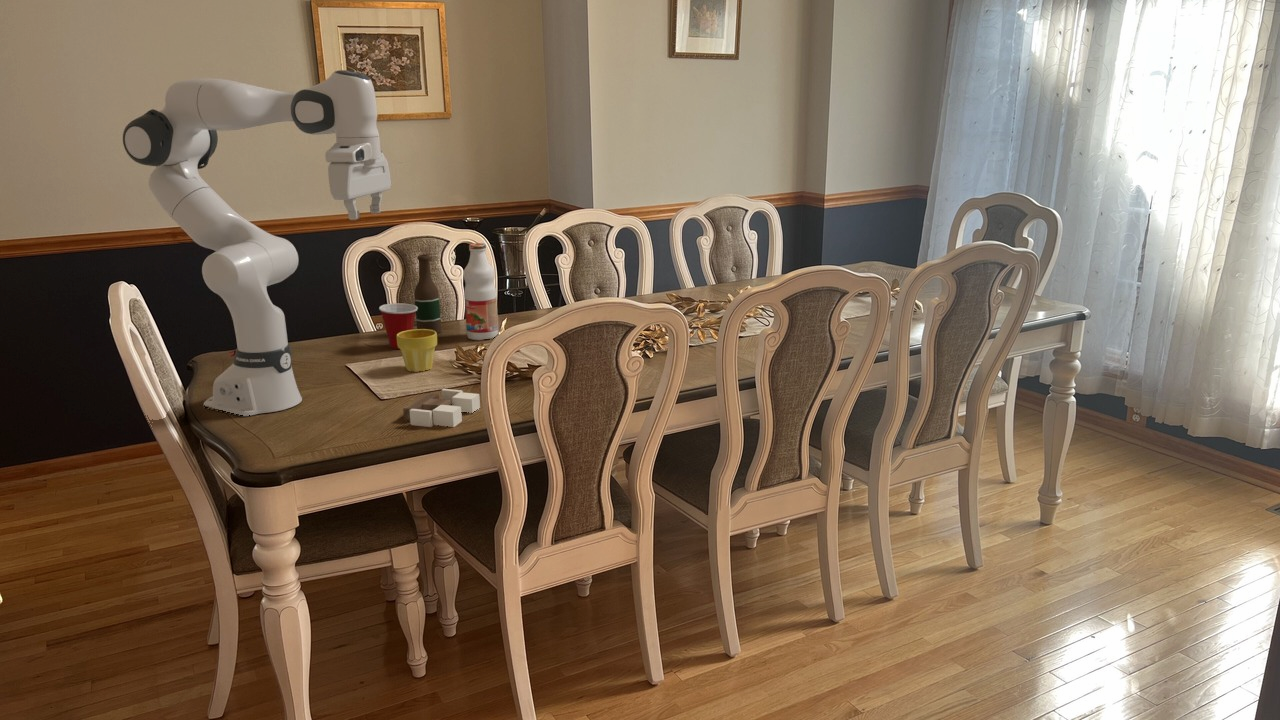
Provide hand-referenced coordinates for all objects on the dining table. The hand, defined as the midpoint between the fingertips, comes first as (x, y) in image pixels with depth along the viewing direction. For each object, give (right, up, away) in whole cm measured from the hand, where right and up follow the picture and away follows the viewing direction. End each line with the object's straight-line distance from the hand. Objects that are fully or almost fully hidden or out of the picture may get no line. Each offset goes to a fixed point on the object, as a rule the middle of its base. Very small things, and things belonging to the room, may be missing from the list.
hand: (365, 216), depth 201 cm
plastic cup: (-10, -27, +69) cm, 75 cm away
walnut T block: (+10, -43, +14) cm, 47 cm away
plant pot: (0, -34, +48) cm, 59 cm away
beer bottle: (-5, -23, +84) cm, 87 cm away
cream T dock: (+15, -44, +13) cm, 48 cm away
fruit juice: (+12, -24, +79) cm, 83 cm away
